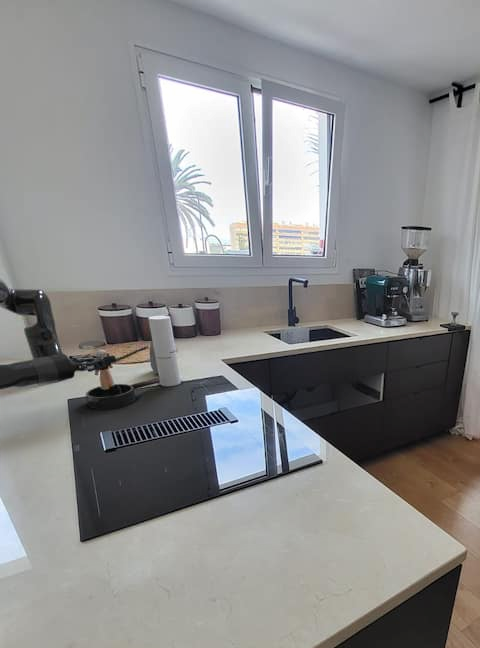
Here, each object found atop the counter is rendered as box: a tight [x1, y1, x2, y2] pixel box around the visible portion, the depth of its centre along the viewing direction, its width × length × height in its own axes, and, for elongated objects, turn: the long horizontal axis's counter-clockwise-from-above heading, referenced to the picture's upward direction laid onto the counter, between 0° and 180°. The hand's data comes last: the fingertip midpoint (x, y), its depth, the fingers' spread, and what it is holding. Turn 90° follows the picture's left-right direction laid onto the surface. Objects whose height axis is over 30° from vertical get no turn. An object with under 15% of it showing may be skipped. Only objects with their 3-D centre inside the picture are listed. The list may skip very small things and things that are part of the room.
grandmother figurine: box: [94, 349, 115, 390], centre depth 128 cm, size 8×4×13 cm, turn 5°
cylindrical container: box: [147, 315, 182, 387], centre depth 146 cm, size 7×7×25 cm
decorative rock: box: [148, 340, 159, 376], centre depth 159 cm, size 16×7×15 cm, turn 36°
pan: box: [85, 383, 136, 410], centre depth 132 cm, size 14×14×4 cm
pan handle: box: [129, 377, 160, 390], centre depth 140 cm, size 11×2×2 cm, turn 145°
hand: (111, 357), depth 129 cm, fingers closed on grandmother figurine, 3 cm apart
